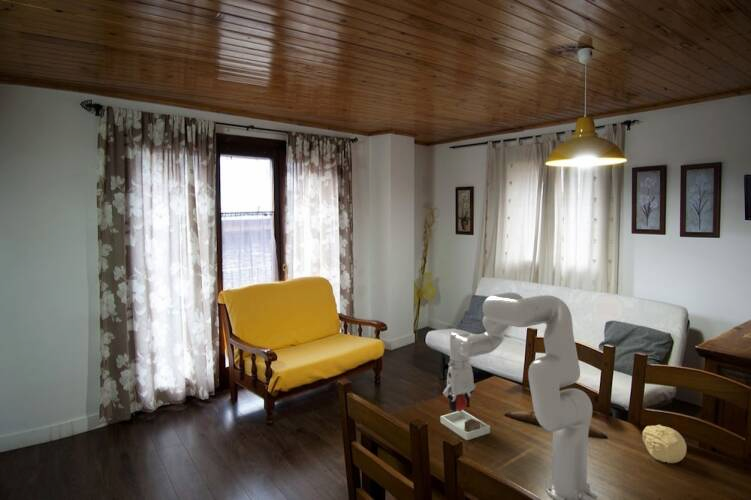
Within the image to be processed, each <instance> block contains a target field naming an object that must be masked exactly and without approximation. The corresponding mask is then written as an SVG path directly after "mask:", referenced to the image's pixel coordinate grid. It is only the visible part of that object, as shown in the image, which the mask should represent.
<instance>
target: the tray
mask: <svg viewBox="0 0 751 500" xmlns="http://www.w3.org/2000/svg"><path fill="white" fill-rule="evenodd" d="M439 418H440V423H441V424H442V425H443V426H445V427H447V428H448V429H450V430H451V431H453V432H454V433H456V434H457V435H458V436H460V437H461V438H463V439H464V440H466V441H469V440H472V439H474V438H478V437H481V436H484V435H488V434H491V426H490V425H489V424H487V423H485V422H483V421H482V420H481V419H478V418H476V417H475V416H473V415H472V414H470V413H469V412H467V411H465V410H462V411H461V412H459V411H458V410H456V411H453V412H451V413H447V414H444V415H440V417H439ZM470 419H473V420H476V421H478V422H480V428H479V429H476V430H472V431H469V432H466V431H465V421H468V420H470Z"/></svg>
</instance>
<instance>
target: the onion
mask: <svg viewBox="0 0 751 500" xmlns="http://www.w3.org/2000/svg"><path fill="white" fill-rule="evenodd" d="M455 401H456V411H459V412H461V411H462V410H463V411H465V409H466V408H467V407H466V406H467V400H466V398H465V396H464V394H460V395H456V398H455Z"/></svg>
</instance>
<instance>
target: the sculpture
mask: <svg viewBox="0 0 751 500" xmlns="http://www.w3.org/2000/svg"><path fill="white" fill-rule="evenodd" d="M642 442H643V443H644V445H645V447H646V450H647V452H648V453H649V455H650V456H651V457H653V458H654V459H655V460H657V461H659V462H662V463H665V462H667V463H666V464H676V463H678V462H680V461H681V462H682V460H683V459H684V458H685V456H686V454H687V444H686V441H685V438H684V437H683V435H681V433H679V432H678V431H677V430H675V429H673V428H671V427H668V426H664V425H662V424H656V425H647V426H646V427H645V428H644V429H643V430H642Z"/></svg>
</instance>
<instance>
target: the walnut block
mask: <svg viewBox="0 0 751 500" xmlns="http://www.w3.org/2000/svg"><path fill="white" fill-rule="evenodd" d="M479 428H480V422H478V421H476V420H473V419H470V420H468V421H465V431H466V432H469V431H472V430H476V429H479Z"/></svg>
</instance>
